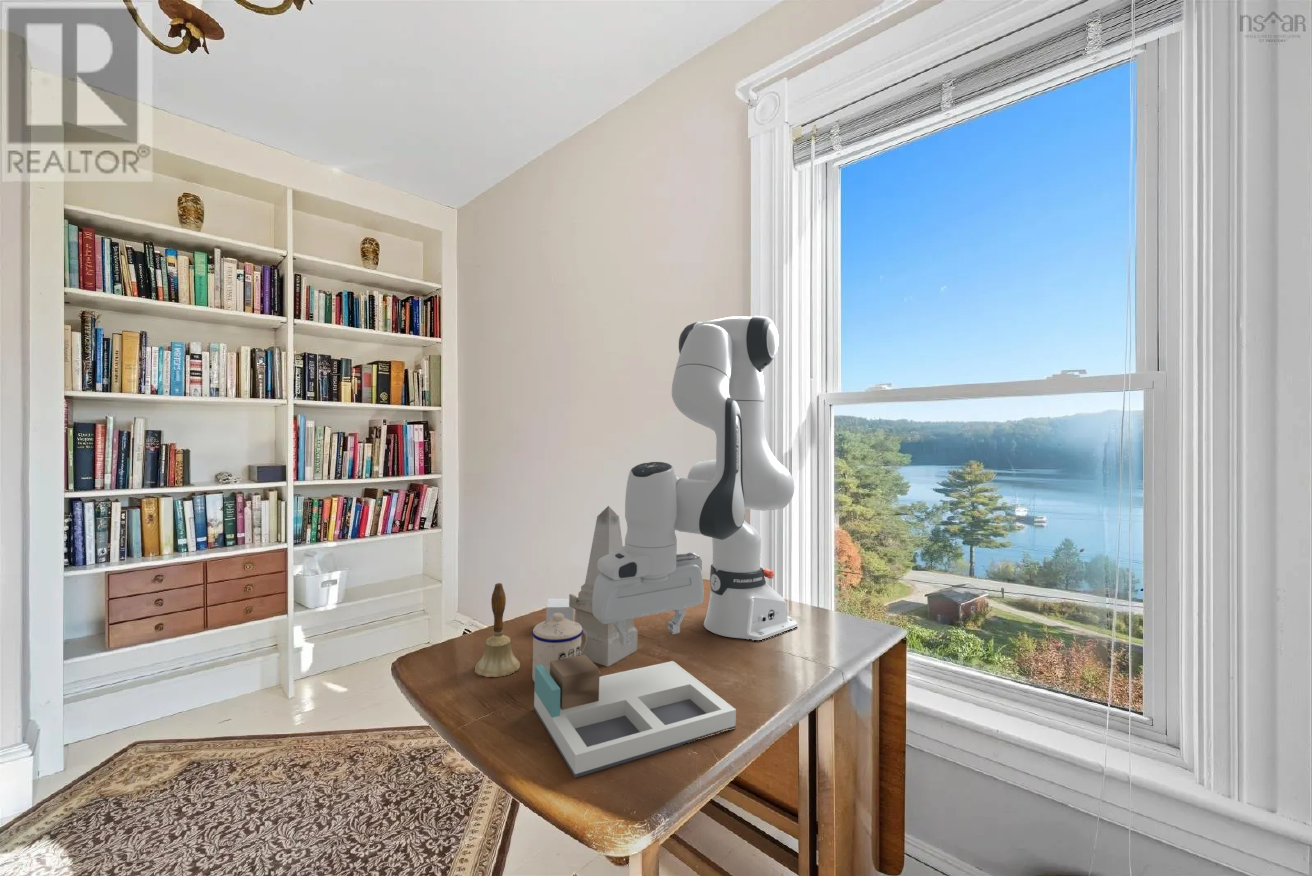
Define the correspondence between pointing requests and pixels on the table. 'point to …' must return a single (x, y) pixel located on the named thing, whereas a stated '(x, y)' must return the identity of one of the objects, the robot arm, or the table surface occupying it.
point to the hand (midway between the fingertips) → (650, 638)
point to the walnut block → (576, 680)
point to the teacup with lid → (557, 641)
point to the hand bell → (497, 643)
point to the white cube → (559, 608)
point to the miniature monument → (599, 636)
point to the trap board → (630, 716)
